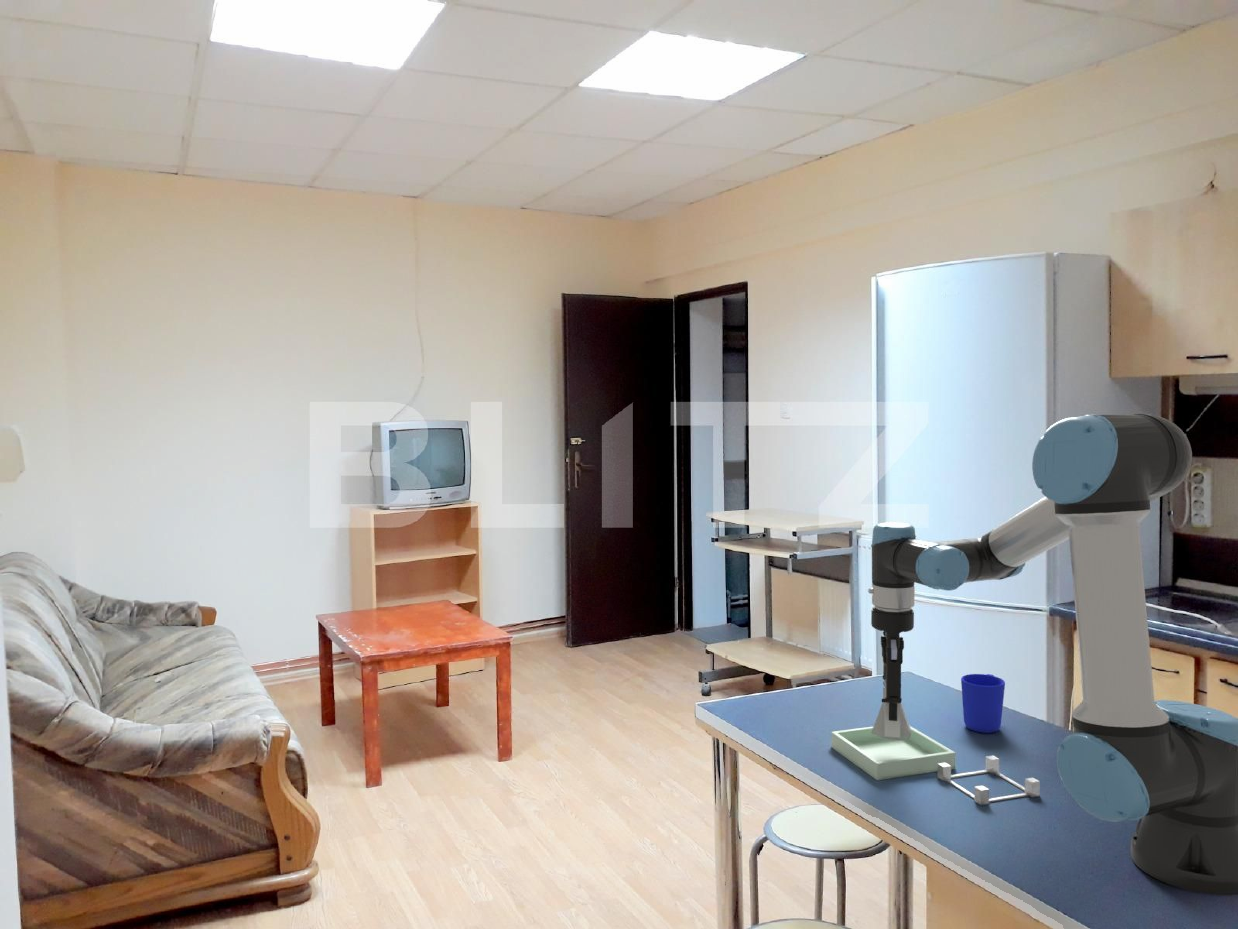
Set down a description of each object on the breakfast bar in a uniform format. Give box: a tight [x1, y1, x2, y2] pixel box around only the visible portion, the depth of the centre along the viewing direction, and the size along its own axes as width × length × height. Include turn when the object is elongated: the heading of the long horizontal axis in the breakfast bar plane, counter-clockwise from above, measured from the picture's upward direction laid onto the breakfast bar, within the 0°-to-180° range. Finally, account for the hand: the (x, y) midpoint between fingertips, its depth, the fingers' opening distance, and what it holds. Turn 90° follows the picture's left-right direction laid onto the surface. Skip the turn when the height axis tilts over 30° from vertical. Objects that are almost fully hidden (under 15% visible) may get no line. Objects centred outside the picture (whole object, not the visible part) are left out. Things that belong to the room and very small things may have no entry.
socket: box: [937, 755, 1041, 806], centre depth 157 cm, size 12×12×2 cm
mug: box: [960, 673, 1006, 734], centre depth 186 cm, size 8×12×10 cm
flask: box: [871, 680, 912, 740], centre depth 170 cm, size 7×7×10 cm
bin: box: [830, 725, 956, 781], centre depth 170 cm, size 16×16×3 cm
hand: (891, 728), depth 170 cm, fingers closed on flask, 7 cm apart
